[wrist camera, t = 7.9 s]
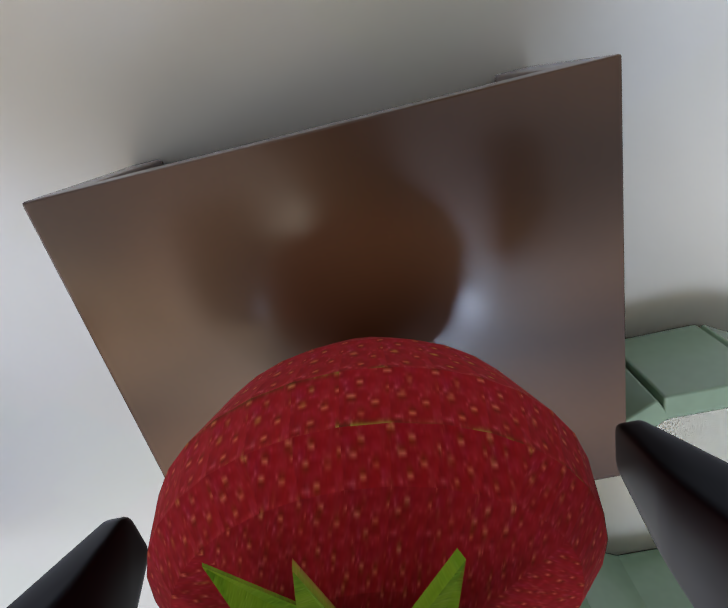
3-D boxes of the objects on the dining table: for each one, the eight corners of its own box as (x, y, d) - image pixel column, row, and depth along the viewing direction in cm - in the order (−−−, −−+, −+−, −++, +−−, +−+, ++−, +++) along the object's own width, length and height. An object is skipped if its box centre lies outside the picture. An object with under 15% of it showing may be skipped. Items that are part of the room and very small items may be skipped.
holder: (787, 540, 25) (862, 617, 21) (515, 584, 26) (541, 665, 22) (831, 296, 19) (942, 344, 16) (482, 366, 20) (509, 427, 17)
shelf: (555, 372, 21) (627, 474, 15) (241, 434, 22) (202, 551, 16) (530, 65, 16) (622, 53, 10) (129, 166, 17) (20, 202, 11)
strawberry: (511, 424, 14) (788, 1030, 5) (262, 462, 15) (103, 1079, 6) (497, 232, 12) (973, 717, 3) (201, 284, 12) (-255, 850, 3)
